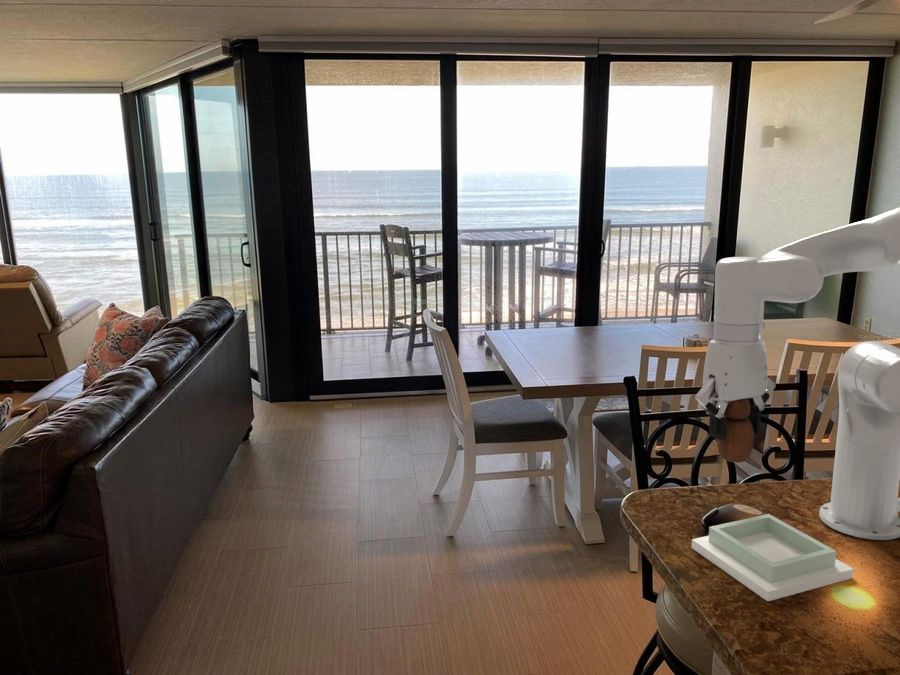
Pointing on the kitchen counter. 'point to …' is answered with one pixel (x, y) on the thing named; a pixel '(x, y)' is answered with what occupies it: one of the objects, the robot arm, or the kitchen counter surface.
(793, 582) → the ceramic stand
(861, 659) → the kitchen counter surface
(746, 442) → the wooden figurine
